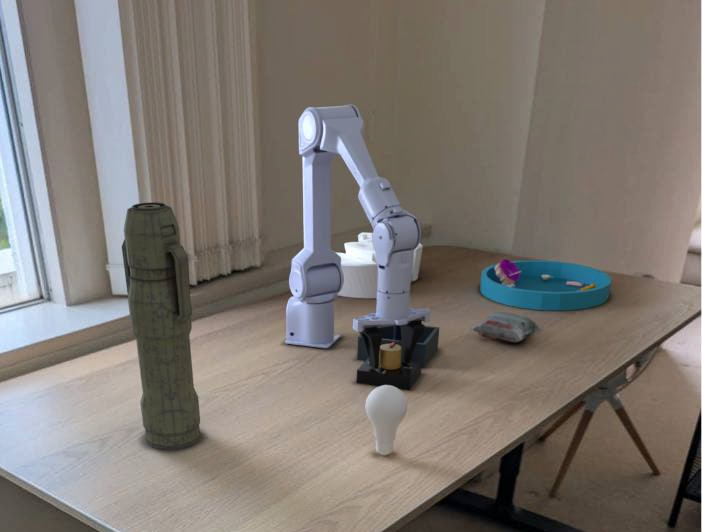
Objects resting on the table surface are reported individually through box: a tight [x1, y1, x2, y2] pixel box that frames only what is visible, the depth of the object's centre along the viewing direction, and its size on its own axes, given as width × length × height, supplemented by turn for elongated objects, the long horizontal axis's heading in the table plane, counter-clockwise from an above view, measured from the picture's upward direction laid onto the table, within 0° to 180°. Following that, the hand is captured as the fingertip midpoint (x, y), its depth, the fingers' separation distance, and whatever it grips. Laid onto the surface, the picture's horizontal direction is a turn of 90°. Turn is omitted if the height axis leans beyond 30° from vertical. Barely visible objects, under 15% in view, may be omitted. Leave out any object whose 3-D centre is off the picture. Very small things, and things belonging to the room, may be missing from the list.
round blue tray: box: [479, 258, 613, 312], centre depth 193 cm, size 30×30×6 cm
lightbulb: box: [365, 385, 408, 456], centre depth 119 cm, size 6×6×11 cm
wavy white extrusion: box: [334, 232, 424, 299], centre depth 200 cm, size 35×16×11 cm, turn 145°
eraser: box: [393, 325, 402, 341], centre depth 157 cm, size 2×2×7 cm
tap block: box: [356, 358, 422, 391], centre depth 148 cm, size 10×8×3 cm
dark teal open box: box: [356, 325, 440, 369], centre depth 158 cm, size 13×11×5 cm
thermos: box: [121, 201, 201, 451], centre depth 119 cm, size 9×12×35 cm
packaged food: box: [469, 311, 542, 343], centre depth 165 cm, size 9×12×5 cm
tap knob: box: [379, 342, 402, 370], centre depth 146 cm, size 4×4×4 cm
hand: (389, 364), depth 147 cm, fingers open, 6 cm apart
